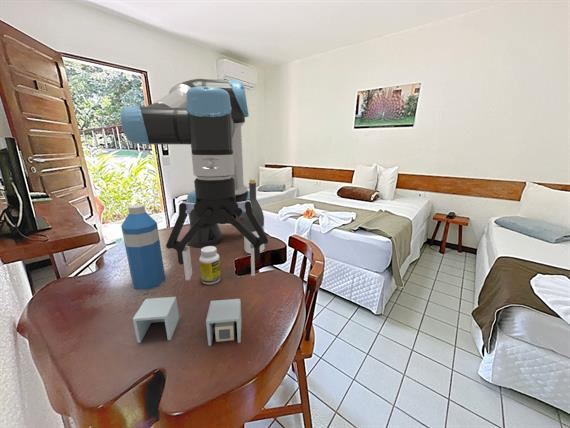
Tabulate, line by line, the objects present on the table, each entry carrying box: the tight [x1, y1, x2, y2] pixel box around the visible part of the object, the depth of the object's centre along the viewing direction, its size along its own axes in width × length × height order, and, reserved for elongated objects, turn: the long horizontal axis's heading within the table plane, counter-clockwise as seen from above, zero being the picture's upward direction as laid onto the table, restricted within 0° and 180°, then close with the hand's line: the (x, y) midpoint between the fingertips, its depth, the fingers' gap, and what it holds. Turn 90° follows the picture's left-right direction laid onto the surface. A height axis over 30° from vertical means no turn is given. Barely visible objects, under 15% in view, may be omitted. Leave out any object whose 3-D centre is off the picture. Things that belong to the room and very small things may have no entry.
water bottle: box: [120, 204, 166, 291], centre depth 74 cm, size 9×9×25 cm
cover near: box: [132, 296, 180, 344], centre depth 57 cm, size 7×7×6 cm
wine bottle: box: [242, 178, 266, 255], centre depth 94 cm, size 8×8×30 cm
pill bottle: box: [199, 245, 222, 285], centre depth 78 cm, size 6×6×11 cm
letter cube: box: [214, 321, 236, 342], centre depth 56 cm, size 4×4×4 cm
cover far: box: [205, 298, 242, 347], centre depth 57 cm, size 7×7×6 cm
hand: (221, 274), depth 53 cm, fingers open, 13 cm apart
